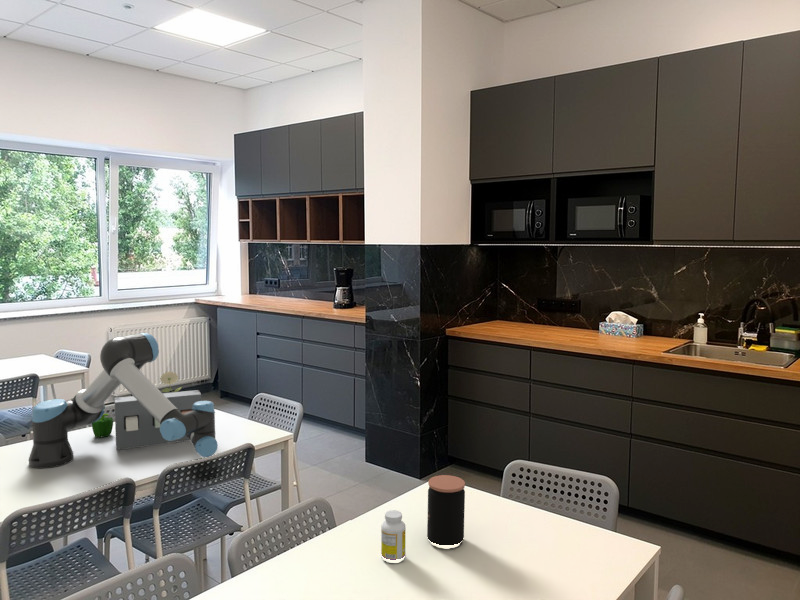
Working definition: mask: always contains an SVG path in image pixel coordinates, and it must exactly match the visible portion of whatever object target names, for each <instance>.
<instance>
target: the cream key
mask: <svg viewBox="0 0 800 600" xmlns="http://www.w3.org/2000/svg"><path fill="white" fill-rule="evenodd" d="M125 420H126V431H134V430H138V418H137V415H133V416H125Z"/></svg>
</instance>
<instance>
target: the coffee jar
mask: <svg viewBox="0 0 800 600" xmlns="http://www.w3.org/2000/svg"><path fill="white" fill-rule="evenodd" d="M427 482H428V486H429V487H428V490H427V521H426V522H427V527H426V528H427V529H426V531H427V532H426V533H427V534H426V536H427V537H428V538H427V540H428V539H429V540H430V541H431V542H433V543H436V544H439V545H454V544H458V543H460V542H461V541H462V540H463V541H464V539H463V538H464V537H465V504H466V503H465V500H466V497H465V496H466V491H465V487H466V482H465V480H463V479H462V478H461V477H458V476H455V475H448V474H441V475H440V474H439V475H435V476H433V477H430V478H429V479H428V481H427Z"/></svg>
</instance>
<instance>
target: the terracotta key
mask: <svg viewBox="0 0 800 600" xmlns="http://www.w3.org/2000/svg"><path fill="white" fill-rule="evenodd" d="M190 411H192V409H188V410H180V412H181V413H182V414H184V413H187V412H190Z"/></svg>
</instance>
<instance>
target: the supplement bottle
mask: <svg viewBox="0 0 800 600" xmlns="http://www.w3.org/2000/svg"><path fill="white" fill-rule="evenodd" d="M402 518H403V513H402V511H399V510H397V509H396V510H392V509H391V510H387V511H386V512H385V513H384V521H383V522H382V524H381V535H380V536H381V540H380V541H381V546H380V547H381V550H380V551H381V552H380V553H381V554H382V556H383V557H384V558H386V559H390V560H396V559H401V558H403V557H404V556H405V557H406V524H405V522H404V521H403V520H402ZM381 554H380V555H381Z"/></svg>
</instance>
